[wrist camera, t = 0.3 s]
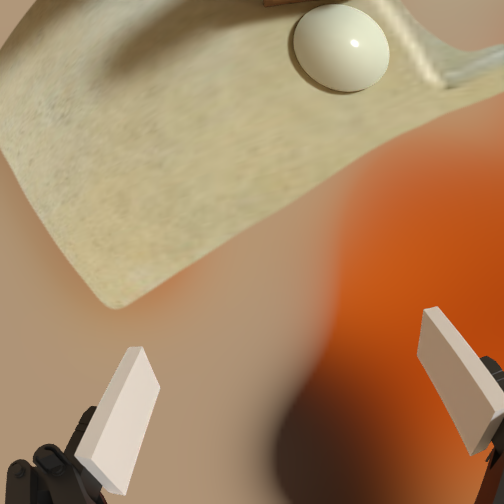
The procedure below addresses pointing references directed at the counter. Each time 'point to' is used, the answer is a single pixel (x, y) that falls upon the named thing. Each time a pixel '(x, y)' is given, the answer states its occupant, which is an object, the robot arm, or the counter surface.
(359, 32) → the cream glossy dome
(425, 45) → the counter surface
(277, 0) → the sleeve
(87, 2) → the counter surface
